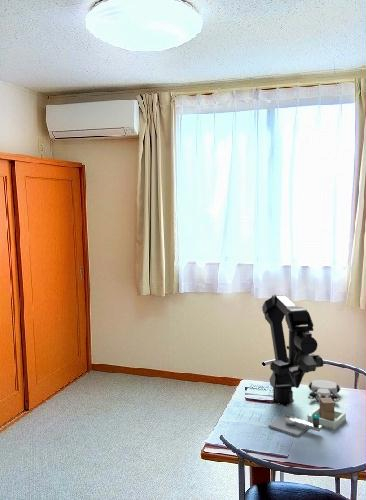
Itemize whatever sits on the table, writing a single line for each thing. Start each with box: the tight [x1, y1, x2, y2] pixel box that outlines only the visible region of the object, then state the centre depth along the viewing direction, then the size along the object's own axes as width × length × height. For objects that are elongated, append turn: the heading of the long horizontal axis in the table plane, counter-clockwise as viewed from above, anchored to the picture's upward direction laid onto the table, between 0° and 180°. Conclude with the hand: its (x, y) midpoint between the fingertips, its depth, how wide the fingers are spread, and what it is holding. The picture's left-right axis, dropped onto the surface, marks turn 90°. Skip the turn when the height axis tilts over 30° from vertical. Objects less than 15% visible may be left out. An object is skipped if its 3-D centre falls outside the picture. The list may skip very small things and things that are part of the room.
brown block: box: [319, 397, 336, 421], centre depth 161 cm, size 4×4×7 cm
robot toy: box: [307, 379, 342, 403], centre depth 181 cm, size 12×4×15 cm
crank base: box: [267, 413, 313, 438], centre depth 158 cm, size 11×11×1 cm
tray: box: [307, 405, 347, 431], centre depth 161 cm, size 10×10×2 cm
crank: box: [285, 414, 322, 432], centre depth 155 cm, size 12×4×5 cm, turn 50°
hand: (296, 387), depth 163 cm, fingers closed
